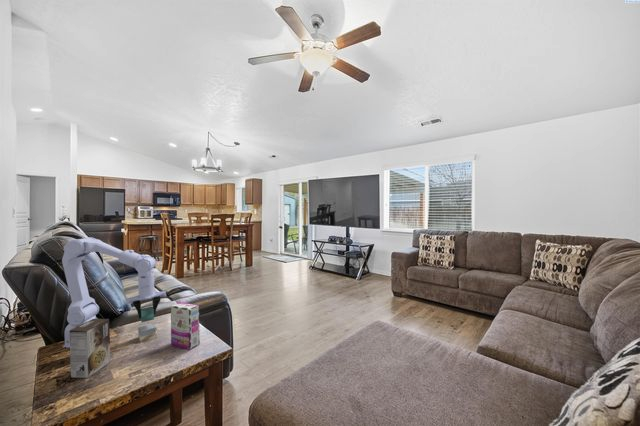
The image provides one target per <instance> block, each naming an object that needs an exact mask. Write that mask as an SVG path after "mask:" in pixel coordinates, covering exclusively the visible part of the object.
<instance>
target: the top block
mask: <svg viewBox="0 0 640 426" xmlns="http://www.w3.org/2000/svg"><path fill="white" fill-rule="evenodd" d="M137 328H138V329H137V330H138V331H137V332H138V333H139V335H140V337H144V336H147V335H151V334H154V333H156V332H157V329H156V328H157V327H156V325H155V324H154V323H153V322H152V323H148V324H145V325H141V326H138V327H137ZM138 333H137V334H138Z"/></svg>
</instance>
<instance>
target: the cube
mask: <svg viewBox="0 0 640 426" xmlns="http://www.w3.org/2000/svg"><path fill="white" fill-rule="evenodd" d="M153 320H155V315H154V309H153V305H151V306H148V307H143V308H142V307H141V318H140V322H141V323H145V322H149V321H153Z"/></svg>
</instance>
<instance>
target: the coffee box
mask: <svg viewBox="0 0 640 426" xmlns="http://www.w3.org/2000/svg"><path fill="white" fill-rule="evenodd" d="M110 332H111V331H110V319H109V318H95V319H92V320H90V321H88V322H86V323H84V324H82V325H80V326H78V327H76V328H74V329H71V330H70V348H69V350H70V351H69V353H70V360H69V361H70V377H71V378H90V377H91V376H92V375H94V374H96V373H97V372H98V371H100V370H101V369H103V368H104V367H105V366H107V365H108V364H109V363H111V362H112V359H111V336H110V335H111V333H110Z"/></svg>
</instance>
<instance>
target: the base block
mask: <svg viewBox="0 0 640 426" xmlns="http://www.w3.org/2000/svg"><path fill="white" fill-rule="evenodd" d="M137 335H138V337H137V338H138V340H139V342H140V343H144V342H146V341H151V340H154V339H158V332H157V331H156V333H154V334H151V335H147V336H144V337H140V335H139V333H137Z"/></svg>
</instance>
